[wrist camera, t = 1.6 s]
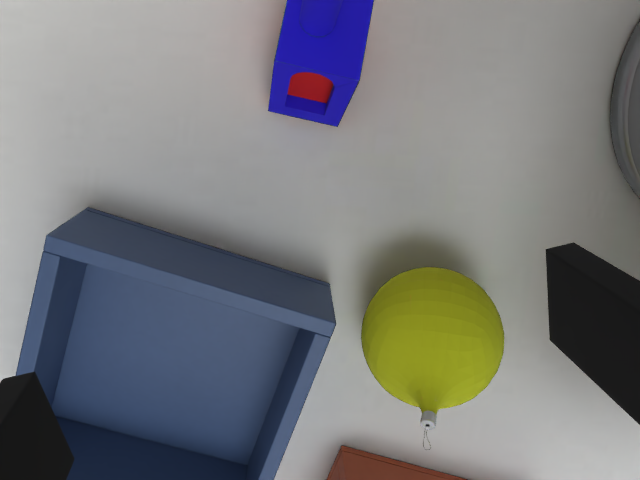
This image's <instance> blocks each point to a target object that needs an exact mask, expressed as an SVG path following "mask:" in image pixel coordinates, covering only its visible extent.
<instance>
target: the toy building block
mask: <svg viewBox="0 0 640 480" xmlns="http://www.w3.org/2000/svg"><path fill="white" fill-rule="evenodd" d="M373 2H374V0H287V3H286V7H285V12H284V17H283V22H282V26H281V31H280V36H279V41H278V45H277V50H276V55H275V60H274V67H273V75H272V84H271V92H270V100H269V108H268V111H270V112H274V113H279V114H283V115H288V116H292V117H296V118H301V119H305V120H310V121H314V122H318V123H323V124H327V125H332V126H336V127H338V125H339V123H340V121H341V119H342V116H343V114H344V112H345V110H346V108H347V106H348V104H349V102H350V100H351V98H352V95H353V93H354V91H355V89H356V87H357V85H358V83H359V81H360V75H361V70H362V64H363V58H364V53H365V47H366V42H367V36H368V30H369V25H370V19H371V13H372V8H373Z"/></svg>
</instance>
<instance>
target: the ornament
mask: <svg viewBox="0 0 640 480" xmlns="http://www.w3.org/2000/svg"><path fill="white" fill-rule="evenodd" d="M361 339H362V348H363V352H364V356H365V359H366V362H367V364H368V366H369V368H370V370H371V372H372V374H373V375H374V377H375V378H376V380H377V381H378V382H379V383H380V385H381V386H382V387H383V388H384V389H385V390H386V391H387V392H389V393H390V394H391V395H393V396H394V397H396V398H398V399H400V400H401V401H403V402H405V403H408V404H410V405H413V406H416V407H420V409H421V411H422V418H421V426H422V427H423V428H424V429H427V430H432V429H434V428H435V425H436V418H437V417H436V413H437V411H438V409H442V408H450V407H453V406H457V405H460V404H463V403H465V402H467V401H469V400H471V399H473V398H474V397H476V396H477V395H478V394H479V393H480V392H481V391H483V390H484V389H485V388H486V387H487V386H488V384H489V383H490V381H491V380H492V378H493V377H494V375H495V374H496V372H497V371H498V368H499V365H500V362H501V359H502V356H503V351H504V331H503V326H502V322H501V318H500V315H499V313H498V311H497V309H496V307H495V305H494V303H493V302H492V300H491V299H490V297H489V296H488V295H487V293H486V292H485V291H484V290H483V289H482V288H481V287H480V286H479V285H478V284H476V283H475V282H474V281H473V280H471V279H470V278H468V277H466V276H464V275H462V274H460V273H458V272H455V271H452V270H449V269H444V268H438V267H423V268H417V269H412V270H409V271H406V272H403V273H400V274H399V275H397V276H395V277H393V278H391V279H390V280H389V281H388V282H387V283H386V284H384V285H383V286H382V287H381V288H380V289H379V290H378V292H377V293H376V294H375V296H374V297H373V298H372V300H371V301H370V303H369V305H368V307H367V310H366V312H365V315H364V318H363V323H362V333H361ZM424 436H425V433H424ZM426 436H427V432H426ZM427 439H428V438H427ZM428 441H429V440H428ZM423 446H424V441H423ZM430 446H431V445H430ZM426 450H427V449H426ZM429 450H430V449H429Z"/></svg>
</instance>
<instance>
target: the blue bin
mask: <svg viewBox="0 0 640 480" xmlns="http://www.w3.org/2000/svg"><path fill="white" fill-rule="evenodd" d="M43 250H44V251H43V253H42V258H41V262H40V267H39V271H38V276H37V280H36V285H35V290H34V294H33V299H32V303H31V308H30V312H29V317H28V321H27V326H26V331H25V335H24V340H23V344H22V349H21V353H20V358H19V362H18V367H17V372H16V376H18V375H22V374H26V373H30V372H34V371H35V373H36V375H37V377H38V379H39V381H40V384H41V386H42V388H43V390H44V392H45V395H46V397H47V399H48V401H49V403H50V406H51V408H52V410H53V412H54V414H55V417H56V419H57V421H58V423H59V425H60V428H61V430H62V432H63V434H64V436H65V439H66V441H67V443H68V445H69V447H70V450H71V452H72V454H73V456H74V458H75V459H74V462H73V464H72V467H71V469H70V472H69V474H68V477H67V479H66V480H274V477H275V475H276V472H277V470H278V467H279V465H280V462H281V460H282V458H283V455H284V453H285V450H286V448H287V445H288V443H289V440H290V438H291V435H292V433H293V430H294V428H295V425H296V423H297V420H298V418H299V415H300V413H301V410H302V408H303V405H304V403H305V400H306V398H307V395H308V393H309V390H310V388H311V385H312V383H313V380H314V378H315V375H316V373H317V371H318V368H319V366H320V363H321V361H322V358H323V356H324V353H325V351H326V348H327V346H328V343H329V341H330V337H331V336H332V333H333V331H334V328H335V326H336V320H335V314H334V308H333V302H332V296H331V289H330V284H329V283H326V282H323V281H320V280H317V279H314V278H310V277H307V276H304V275H301V274H298V273H295V272H291V271H288V270H285V269H282V268H279V267H276V266H272V265H269V264H266V263H263V262H260V261H257V260H253V259H250V258H247V257H244V256H241V255H238V254H235V253H231V252H228V251H225V250H222V249H219V248H216V247H212V246H209V245H206V244H203V243H200V242H197V241H193V240H190V239H187V238H184V237H181V236H178V235H174V234H171V233H168V232H165V231H162V230H159V229H155V228H152V227H149V226H146V225H143V224H140V223H137V222H133V221H130V220H127V219H124V218H121V217H118V216H114V215H111V214H108V213H105V212H102V211H99V210H95V209H92V208H89V207H87V208H86V209H85V210H83V211H82V212H80V213H79V214H77V215H76V216H74V217H73V218H71V219H70V220H68V221H67V222H65V223H64V224H62V225H61V226H59V227H58V228H57V229H55V230H54V231H52V232H51V233H49V234H48V235H47V236H46V240H45V244H44V249H43Z"/></svg>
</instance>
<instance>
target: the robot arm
mask: <svg viewBox="0 0 640 480" xmlns="http://www.w3.org/2000/svg"><path fill="white" fill-rule="evenodd" d="M611 133H612V140H613V145H614V150H615V154H616V157H617V160H618V163H619V166H620V168H621V170H622V172H623V174H624V177H625V179H626V180H627V182H628V183H629V185H630V187H631V188H632V190H633V191H634V192H635V193H636V195H637V196H638V197H639V198H640V21H639V22H638V24H637V26H636V28H635V30H634V31H633V33H632V35H631V37H630V39H629V41H628V44H627V46H626V48H625V50H624V53H623V55H622V58H621V61H620V64H619V67H618V70H617V74H616V78H615V82H614V87H613V93H612V100H611ZM546 264H547V287H548V309H549V332H550V341H551V342H553V343H554V344H555V345H556V346H557V347H558V348H559V349H560V350H561V351H562V352H563V353H564V354H565V355H566V356H567V357H568V358H569V359H571V360H572V361H573V362H574V363H575V364H576V365H577V366H578V367H579V368H580V369H581V370H582V371H583V372H584V373H585V374H586V375H587V376H589V377H590V378H591V379H592V380H593V381H594V382H595V383H596V384H597V385H598V386H599V387H600V388H601V389H602V390H603V391H604V392H605V393H607V394H608V395H609V396H610V397H611V398H612V399H613V400H614V401H615V402H616V403H617V404H618V405H619V406H620V407H621V408H622V409H623V410H625V411H626V412H627V413H628V414H629V415H630V416H631V417H632V418H633V419H634V420H635V421H636V422H637V423H638V424H639V425H640V281H639V280H637V279H635V278H634V277H632V276H630V275H628V274H627V273H625V272H623V271H622V270H620V269H618V268H617V267H615V266H613V265H611V264H610V263H608V262H606V261H605V260H603V259H601V258H599V257H598V256H596V255H594V254H593V253H591V252H589V251H587V250H586V249H584V248H582V247H581V246H579V245H577V244H575V243H570V244H566V245H562V246H557V247H553V248H549V249H546ZM74 459H75V458H74V456H73V454H72V452H71V450H70V447H69V445H68V443H67V441H66V439H65V436H64V434H63V432H62V430H61V428H60V425H59V423H58V421H57V419H56V417H55V414H54V412H53V410H52V408H51V406H50V403H49V401H48V399H47V397H46V395H45V392H44V390H43V388H42V386H41V384H40V381H39V379H38V377H37V375H36V373H35V371H34V372H30V373H26V374H22V375H18V376H13V377H9V378H5V379H3V380H2V381H1V383H0V480H66V479H67V477H68V474H69V472H70V469H71V467H72V464H73V462H74Z"/></svg>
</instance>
